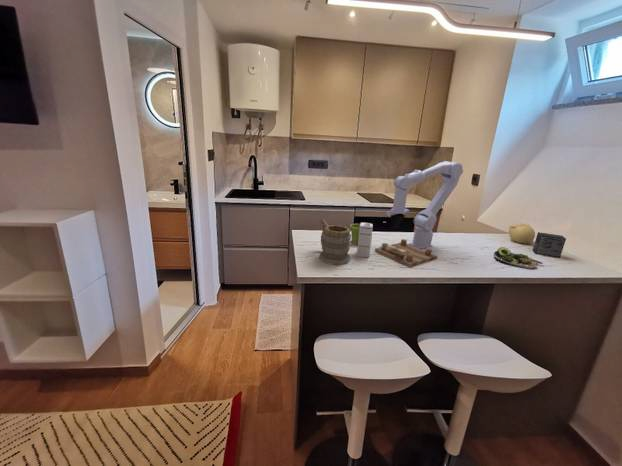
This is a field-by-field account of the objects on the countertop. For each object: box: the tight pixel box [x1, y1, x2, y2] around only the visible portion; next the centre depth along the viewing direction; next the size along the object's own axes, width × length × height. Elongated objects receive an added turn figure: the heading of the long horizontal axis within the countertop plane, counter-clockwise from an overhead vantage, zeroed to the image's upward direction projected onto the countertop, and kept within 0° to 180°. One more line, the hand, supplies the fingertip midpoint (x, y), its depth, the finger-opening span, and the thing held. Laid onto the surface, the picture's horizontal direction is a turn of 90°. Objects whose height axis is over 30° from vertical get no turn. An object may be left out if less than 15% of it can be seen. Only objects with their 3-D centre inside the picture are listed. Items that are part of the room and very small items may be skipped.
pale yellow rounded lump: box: [508, 222, 536, 245], centre depth 165 cm, size 12×12×11 cm
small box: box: [531, 232, 567, 259], centre depth 147 cm, size 11×6×10 cm, turn 65°
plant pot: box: [349, 223, 360, 245], centre depth 147 cm, size 9×9×9 cm
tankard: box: [319, 218, 352, 266], centre depth 127 cm, size 20×13×15 cm, turn 27°
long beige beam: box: [381, 242, 406, 256], centre depth 133 cm, size 12×3×2 cm, turn 41°
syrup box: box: [356, 222, 374, 258], centre depth 131 cm, size 6×6×14 cm
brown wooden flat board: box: [374, 238, 438, 268], centre depth 135 cm, size 20×20×4 cm
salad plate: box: [493, 246, 543, 269], centre depth 136 cm, size 19×18×5 cm
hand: (395, 228), depth 144 cm, fingers closed
